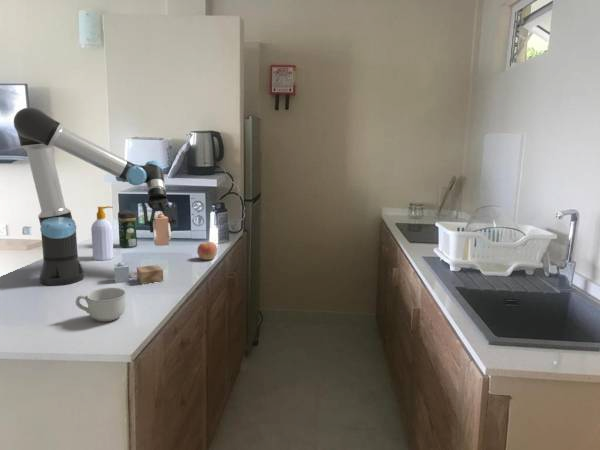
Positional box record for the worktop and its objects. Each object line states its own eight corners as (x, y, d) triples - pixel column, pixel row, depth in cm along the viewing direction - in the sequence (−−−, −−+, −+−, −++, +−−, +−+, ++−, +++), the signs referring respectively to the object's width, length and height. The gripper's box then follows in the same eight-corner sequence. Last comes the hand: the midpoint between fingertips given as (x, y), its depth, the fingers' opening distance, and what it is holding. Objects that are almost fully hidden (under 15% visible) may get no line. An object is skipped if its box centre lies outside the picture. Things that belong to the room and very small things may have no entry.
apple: (215, 261, 206) (214, 244, 204) (195, 261, 206) (195, 244, 204) (218, 257, 214) (218, 240, 213) (200, 256, 214) (199, 240, 213)
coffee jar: (117, 245, 235) (115, 209, 231) (133, 243, 239) (131, 208, 236) (123, 248, 227) (121, 212, 224) (139, 247, 232) (137, 211, 228)
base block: (141, 285, 171) (141, 272, 170) (137, 279, 178) (136, 267, 177) (163, 282, 175) (162, 269, 174) (158, 277, 182) (157, 264, 181)
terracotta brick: (155, 245, 182) (155, 216, 180) (154, 243, 186) (153, 214, 184) (168, 245, 184) (168, 215, 182) (167, 242, 188) (166, 213, 186)
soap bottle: (115, 259, 206) (112, 207, 202) (92, 261, 203) (89, 208, 199) (115, 255, 214) (112, 205, 210) (93, 256, 211) (90, 205, 206)
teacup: (131, 311, 144) (130, 287, 142) (119, 325, 133) (118, 299, 131) (86, 311, 143) (85, 287, 142) (70, 325, 132) (69, 298, 131)
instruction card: (133, 277, 179) (133, 276, 179) (125, 274, 183) (124, 274, 183) (151, 273, 186) (151, 272, 186) (142, 270, 189) (142, 270, 189)
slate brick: (115, 283, 172) (114, 265, 171) (115, 279, 177) (114, 262, 176) (129, 281, 174) (128, 264, 173) (128, 278, 179) (127, 261, 177)
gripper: (177, 197, 199) (184, 241, 187) (133, 198, 192) (138, 244, 180) (179, 186, 194) (186, 231, 182) (134, 187, 186) (139, 233, 174)
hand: (162, 238), depth 181 cm, fingers closed on terracotta brick, 5 cm apart
